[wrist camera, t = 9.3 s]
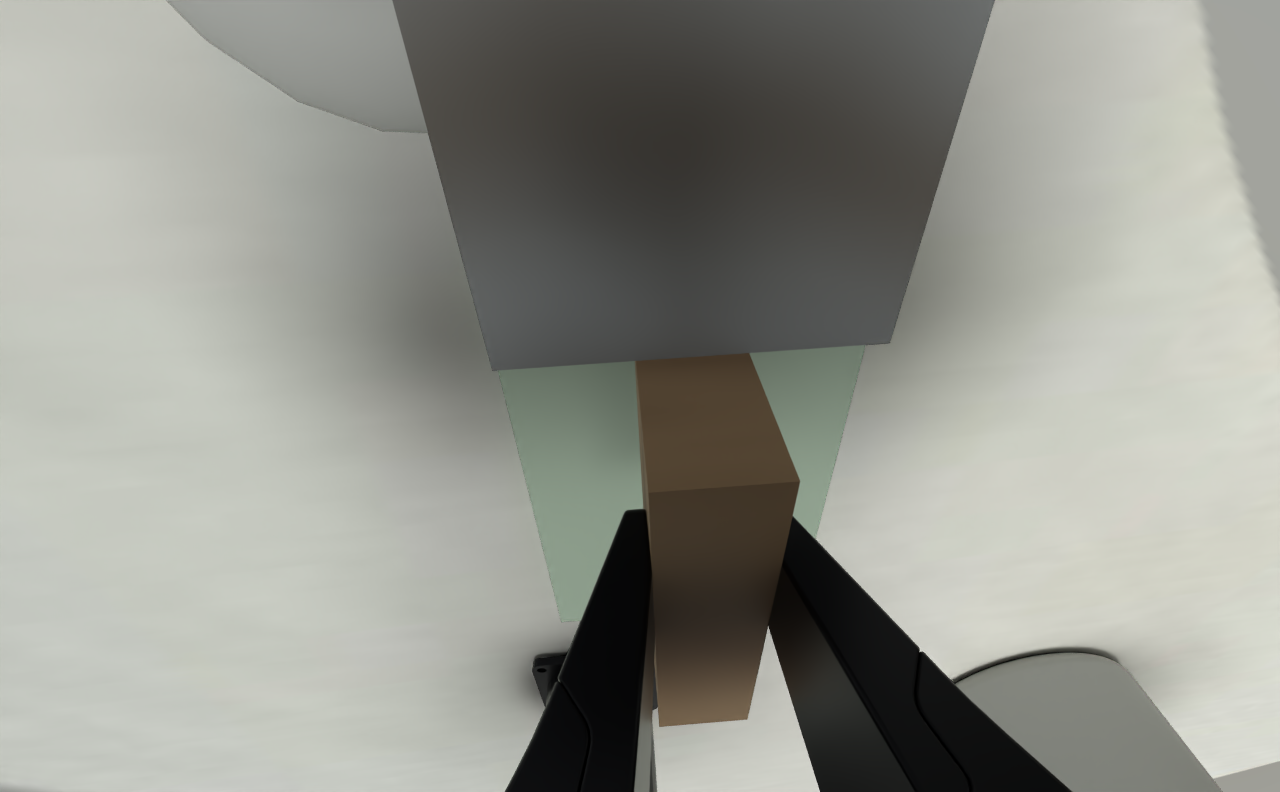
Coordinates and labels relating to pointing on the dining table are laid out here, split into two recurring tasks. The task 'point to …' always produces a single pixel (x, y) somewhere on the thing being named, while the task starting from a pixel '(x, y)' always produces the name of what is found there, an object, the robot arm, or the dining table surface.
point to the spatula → (693, 241)
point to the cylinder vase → (1087, 724)
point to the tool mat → (610, 451)
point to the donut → (319, 54)
